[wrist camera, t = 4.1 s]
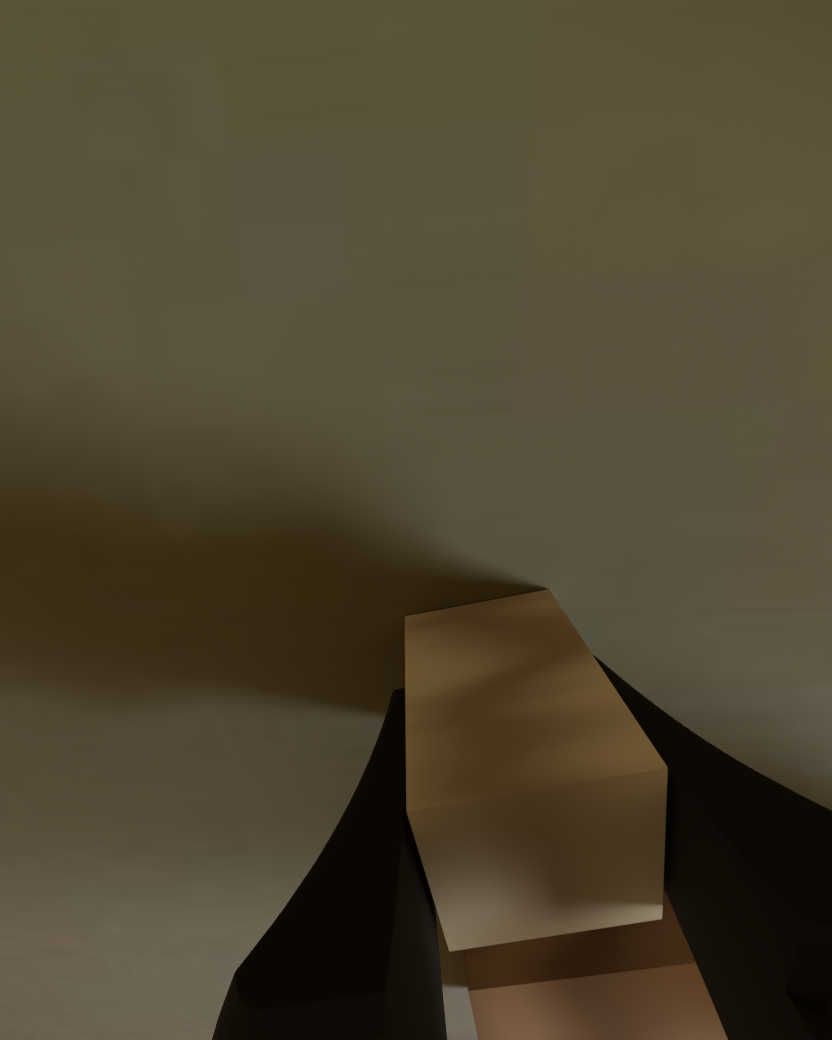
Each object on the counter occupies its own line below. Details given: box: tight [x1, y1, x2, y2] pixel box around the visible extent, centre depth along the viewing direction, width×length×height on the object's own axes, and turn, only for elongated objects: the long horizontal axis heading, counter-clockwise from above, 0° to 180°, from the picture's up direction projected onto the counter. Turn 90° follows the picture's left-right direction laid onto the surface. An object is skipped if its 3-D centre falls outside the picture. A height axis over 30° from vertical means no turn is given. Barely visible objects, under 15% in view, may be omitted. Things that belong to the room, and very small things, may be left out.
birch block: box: [405, 589, 668, 952], centre depth 11 cm, size 5×5×6 cm
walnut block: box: [464, 888, 728, 1040], centre depth 17 cm, size 10×10×4 cm
